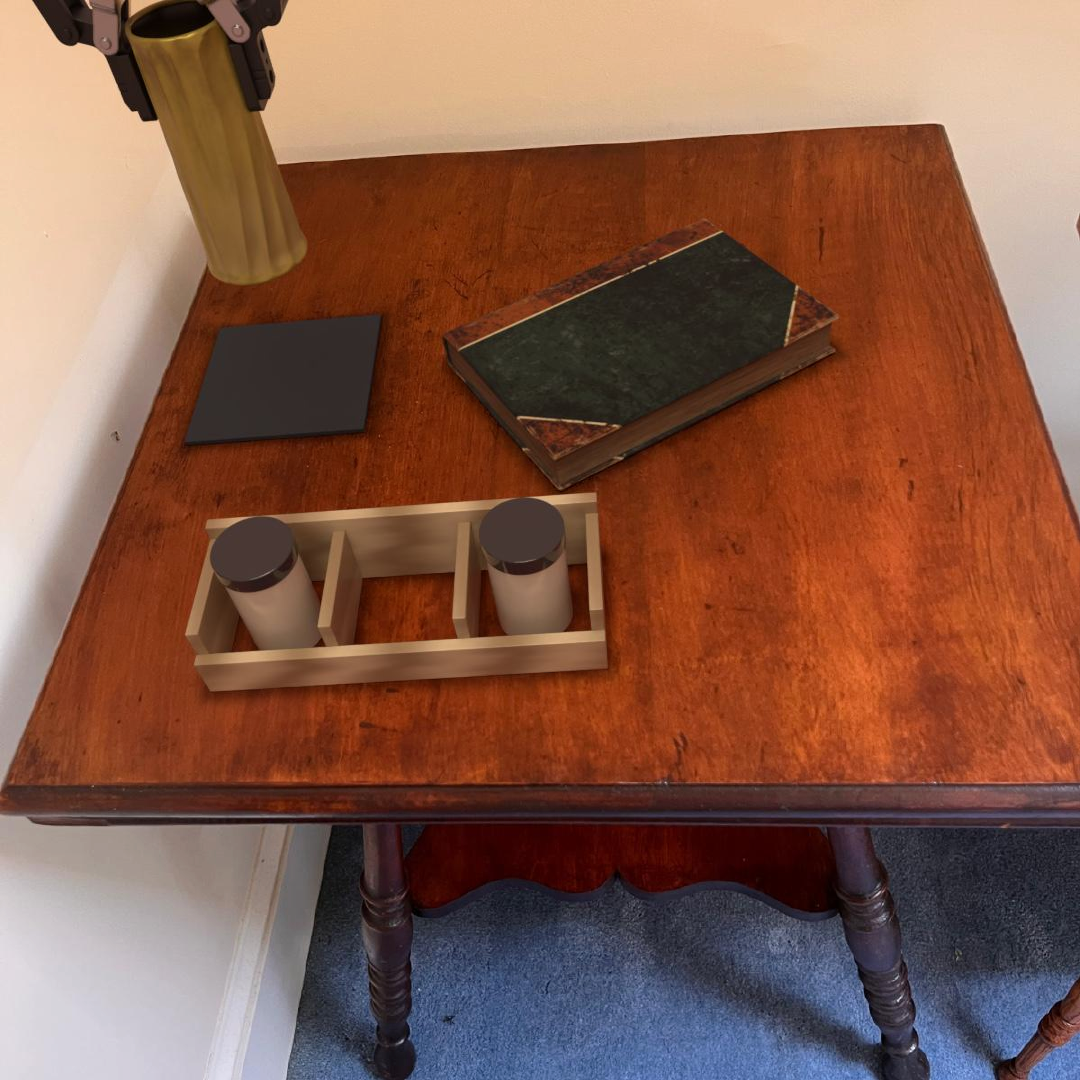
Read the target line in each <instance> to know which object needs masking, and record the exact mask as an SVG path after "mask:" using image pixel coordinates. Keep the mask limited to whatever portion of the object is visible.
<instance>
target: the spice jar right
mask: <svg viewBox="0 0 1080 1080" xmlns="http://www.w3.org/2000/svg"><path fill="white" fill-rule="evenodd" d="M524 497H525V496H524ZM528 497H529V496H526V497H525V498H522V497H514V498H515V499H511V500H507V501H505V502H502V503H500V504H498V505H497V506H495V507H494V508H492V509H491V510H490V511H489V512H488V513H487V514H486V515H485V517H484V518H483V520H482V522H481V524H480V527H479V540H480V544H481V549H482V553H483V556H484V558H485V559H486V564H487V568H488V570H487V573H488V577H489V582H490V586H491V591H492V596H493V601H494V604H495V605H494V606H495V609H496V615H497V617H498V623H499V626H500V628H501V629H502V630H503V632H504V633H505V634H506V636H512V635H528V634H545V633H561V632H566V630H567V629H568V627H569V625H570V624H571V622H572V619H573V615H574V606H573V598H572V597H573V596H572V589H571V581H570V573H569V565H568V564H567V556H566V548H565V545H566V534H565V525H564V520H563V517H562V515H561V514H560V512H559V511H558V510H557V509H556V508H555V507H554V506H553V505H551V504H549V503H548V502H546V501H543V500H540V499H536V498H528Z"/></svg>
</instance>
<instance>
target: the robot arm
mask: <svg viewBox="0 0 1080 1080" xmlns="http://www.w3.org/2000/svg"><path fill="white" fill-rule="evenodd" d="M31 1H32V3H33V4H34V5H35V7H36V8H37V11H39V14H40V15H41V17H42V18H43V20H44V21H45V23H46V24H47V26H48V27H49V28H50V31H52V33H53V35H54V37H55V38H56V39H57V41H59V43H60V44H63V45H64V46H67V47H75V46H76V45H77V44H80V45H81V44H82V45H86V46H89V47H93V48H95V49H97V51H99V52H100V53H101V54H102V55H103V56H104V58H105V60H106V62H107V65H108V66H109V69H110V72H111V74H112V77H113V79H114V81H115V83H116V85H117V89H118V90H119V92H120V96H121V99H122V101H123V103H124V104H125V106H126V107H127V109H129V110H130V112H132V113H134V112H137V114H138V116H139V118H140V120H141V121H142V122H143V123H148V122H157V121H159V120H158V117H157V115H156V112H155V109H154V107H153V104H152V102H151V99H150V96H149V93H148V91H147V88H146V85H145V82H144V80H143V77H142V74H141V71H140V69H139V66H138V63H137V61H136V58H135V55H134V52H133V50H132V47H131V45H130V42H129V40H128V38H127V35H126V33H125V24H126V22H127V20H128V19H129V18H130V17H131V16H132V0H88V2H89V3H88V2H87V1H86V0H31ZM197 1H198V2H199V3H200V4H201V5H205V6H206V7H207V8H208V9H209V10H210V12H211V13H212V15H213V16H214V17H215V19H216V20H217V21H218V23H219V24H220V25H221V27H222V28H223V29H224V31H225V32H226V34H227V35H228V36H229V37H230V41H229V44H228V48H229V51H230V54H231V57H232V60H233V63H234V66H235V70H236V73H237V76H238V79H239V82H240V85H241V88H242V91H243V94H244V97H245V101H246V104H247V107H248V109H249V111H250V112H256V111H260V112H264V111H265V109H266V107H267V105H268V102H269V100H271V97H272V94H273V92H274V89H275V86H276V74H275V71H274V70H275V69H274V67H273V63H272V59H271V56H270V53H269V50H268V49H269V48H268V46H267V43H266V39H265V35H264V33H263V29H266V28H268V27H276V26H277V25H279V24H280V22H281V20H282V18H283V16H284V13H285V10H286V8H287V5H288V3H289V0H197ZM88 4H89V5H88ZM90 7H91V8H90Z"/></svg>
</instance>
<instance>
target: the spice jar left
mask: <svg viewBox="0 0 1080 1080" xmlns="http://www.w3.org/2000/svg"><path fill="white" fill-rule="evenodd" d="M256 516H257V517H252V516H250V517H251V518H247V519H244V520H241V521H239V522H236V523H235V524H233V525H231V526H230V527H228V528H227V529H225V530H224V531H223V532H222V533H221V534H220V535H219V536H218V537H217V539H216V540H215V542H214V544H213V546H212V548H211V552H210V564H211V566H212V568H213V570H214V572H215V574H216V576H217V578H218V579H219V581H220V582H221V583H222V584H223V585H224V587H225V589H226V591H227V593H228V594H229V596H230V598H231V600H232V602H233V604H234V606H235V607H236V609H237V611H238V613H239V615H240V616H239V618H240V619H241V621H242V622H243V625H244V626H245V628H246V630H247V631H248V633H249V635H250V637H251V639H252V641H253V643H254V644H255V646H256V648H257V649H258V651H265V650H281V649H298V648H314V647H316V645H317V644H318V643H319V642H320V641H321V639H323V638H322V636H321V634H320V631H319V629H318V627H317V626H318V620H319V614H320V608H321V600H320V598H319V596H318V594H317V591H316V589H315V586H314V584H313V581H311V579H310V577H309V575H308V572H307V570H306V568H305V565H304V563H303V561H302V558H301V556H300V554H299V551H298V545H297V542H296V540H295V538H294V535H293V533H292V531H291V529H290V528H289V526H288V525H287V524H285V523H284V522H282V521H281V520H279V519H276V518H273V517H267V516H266V515H256Z"/></svg>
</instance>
